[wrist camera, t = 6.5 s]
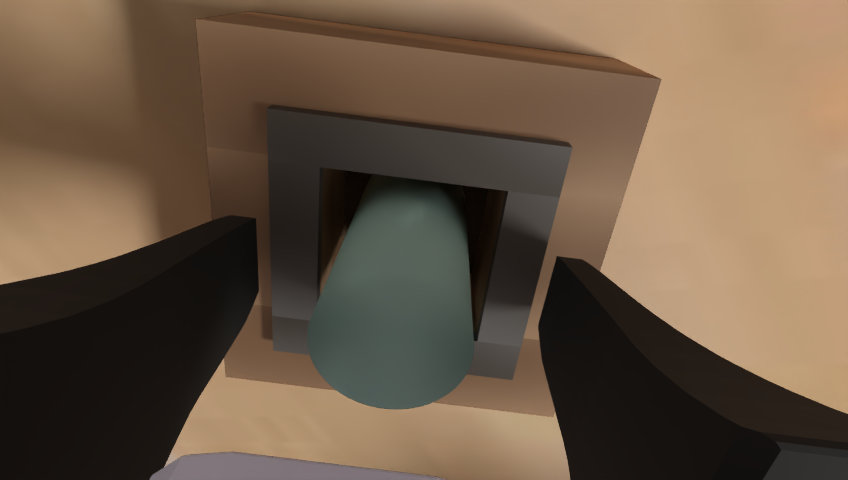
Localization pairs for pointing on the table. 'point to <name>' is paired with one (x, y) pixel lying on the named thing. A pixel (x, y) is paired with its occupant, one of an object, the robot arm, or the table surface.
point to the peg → (398, 298)
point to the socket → (414, 172)
